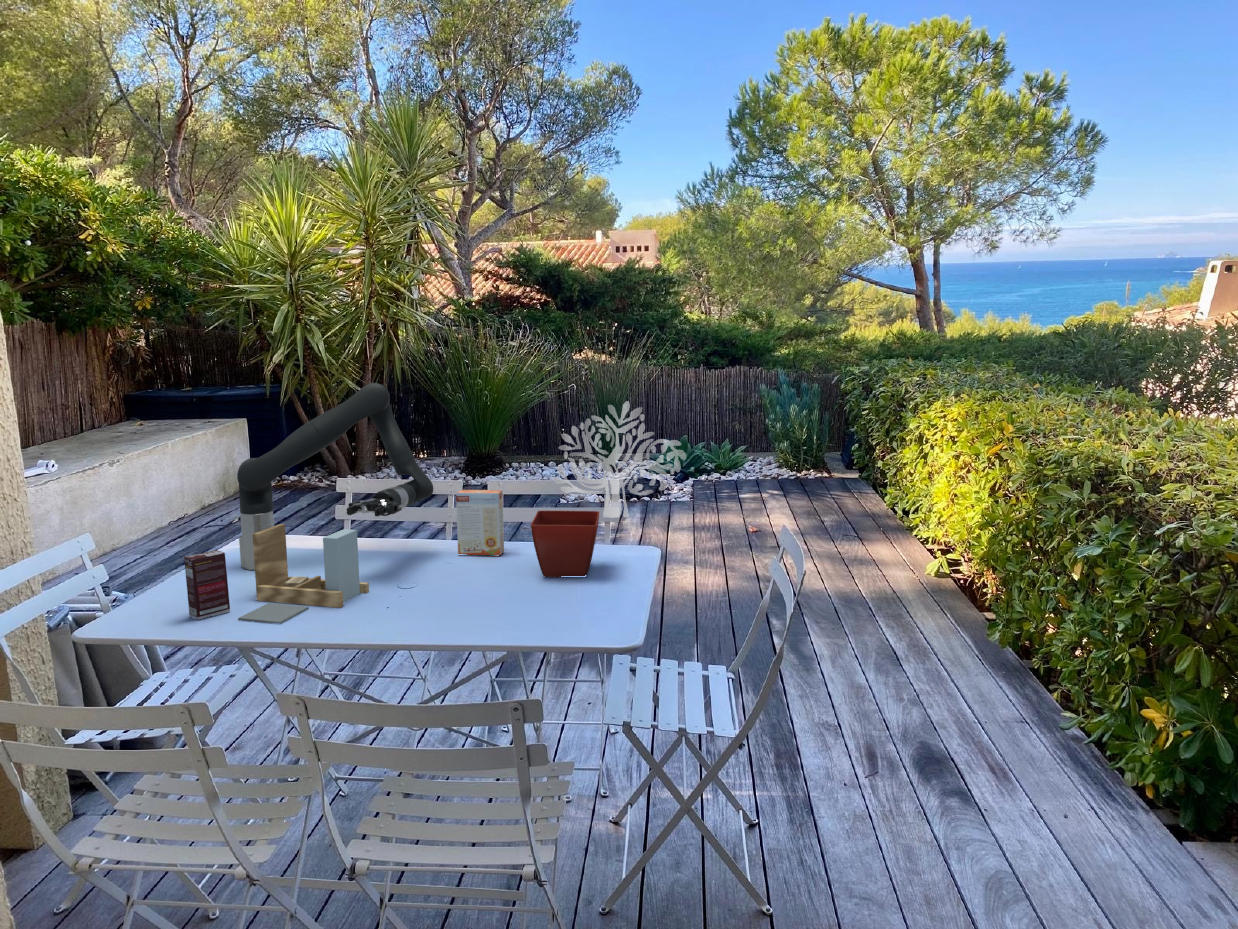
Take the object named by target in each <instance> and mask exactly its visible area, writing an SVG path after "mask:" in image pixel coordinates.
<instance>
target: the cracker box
mask: <svg viewBox="0 0 1238 929" xmlns="http://www.w3.org/2000/svg"><path fill="white" fill-rule="evenodd" d="M503 498H504V497H503V490H501V489H460V490H458V491H457V492H456V493H455V500H456V527H457V528H456V529H457V530H456V531H457V532H456V533H457V554H467V555H501V556H502V555H503V554H504V553H503V552H505V542H504V541H505V540H504V537H505V534H504V507H503V506H504V505H503V504H504V503H503V502H504V500H503ZM502 553H503V554H502Z"/></svg>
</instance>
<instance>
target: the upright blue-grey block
mask: <svg viewBox="0 0 1238 929" xmlns="http://www.w3.org/2000/svg"><path fill="white" fill-rule="evenodd" d="M358 544H359V543H358V530H357V529H347V528H346V529H345V528H344V529H341V530H338V531H336V532H334V533H331V534H329V535H326V536H323V537H322V547H323V562H324V563H323V564H324V566H323V568H324V579H325V586H326V590H331V591H343V604H344V603H346V602H348V601H349V600H351V599H353V598H355V597H357V596H358V595H360V594H361V593H360V584H359V582H360V569H359V567H360V566H359V563H360V562H359V549H358V548H359V546H358Z"/></svg>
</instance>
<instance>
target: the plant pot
mask: <svg viewBox="0 0 1238 929" xmlns="http://www.w3.org/2000/svg"><path fill="white" fill-rule="evenodd" d="M599 519H600V511H597V510H537V512H536V514H535V516H534V517H533V520H532V521H531V523H530V528H531V536H532V542H533V547H534V549H535V550H534V551H535V555H536V558H537V561H538V565H539V568H540V571H541V574H542V576H543V577H544V576H545V577H544V578H562V577H561V576H585V575H587V576H588V574H589V570H590V567H591V564H592V559H593V556H594V549H595V545H596V544H595V543H596V539H597V533H598V527H599V521H600V520H599Z"/></svg>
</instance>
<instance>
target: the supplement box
mask: <svg viewBox="0 0 1238 929" xmlns="http://www.w3.org/2000/svg"><path fill="white" fill-rule="evenodd" d="M183 558H184V559H183V561H184V570H185V581H186V582H185V583H186V592H187V604H188V614H189V617H190V618H192V617H193V618H192V619H194V618H195V619H194V620H196V619H201V620H204V619H203V618H205V619H207V618H206V617H208V618H210V617H209V616H212V617H216V616H218V615H224V614H226V613H227V614H228V613H229V612H230V611H231V606H230V596H229V594H230V593H229V582H228V572H227V562H226V552H224V551H221V550H217V549H216V550H211V551H204V552H200V553H197V554H191V555H186V556H184V557H183Z"/></svg>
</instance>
